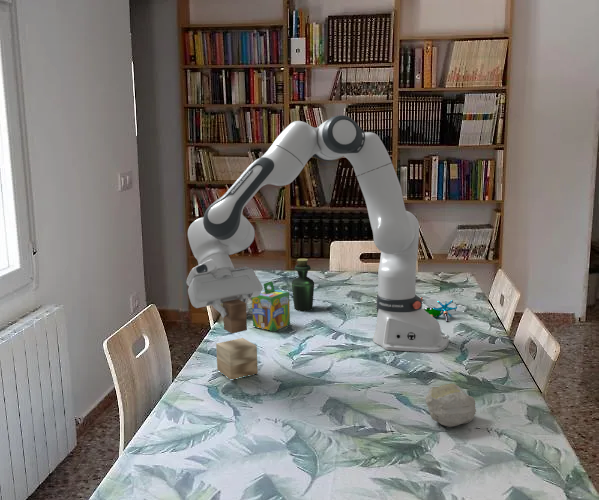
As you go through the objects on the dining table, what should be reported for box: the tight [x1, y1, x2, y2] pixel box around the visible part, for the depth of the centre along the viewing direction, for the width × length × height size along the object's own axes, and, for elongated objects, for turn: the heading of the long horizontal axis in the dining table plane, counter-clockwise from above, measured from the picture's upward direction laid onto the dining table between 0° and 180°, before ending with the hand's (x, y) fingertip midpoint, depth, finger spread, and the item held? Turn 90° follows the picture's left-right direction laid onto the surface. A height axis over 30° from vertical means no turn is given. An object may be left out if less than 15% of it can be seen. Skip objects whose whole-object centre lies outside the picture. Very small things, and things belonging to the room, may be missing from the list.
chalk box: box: [251, 280, 291, 332], centre depth 218 cm, size 9×9×15 cm
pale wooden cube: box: [215, 337, 259, 380], centre depth 179 cm, size 8×8×8 cm
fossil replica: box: [424, 383, 477, 428], centre depth 148 cm, size 12×8×10 cm
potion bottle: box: [291, 258, 315, 312], centre depth 237 cm, size 8×8×18 cm
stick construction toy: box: [423, 299, 458, 323], centre depth 223 cm, size 12×7×8 cm
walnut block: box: [222, 299, 248, 334], centre depth 177 cm, size 4×4×8 cm
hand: (236, 314), depth 176 cm, fingers closed on walnut block, 4 cm apart
